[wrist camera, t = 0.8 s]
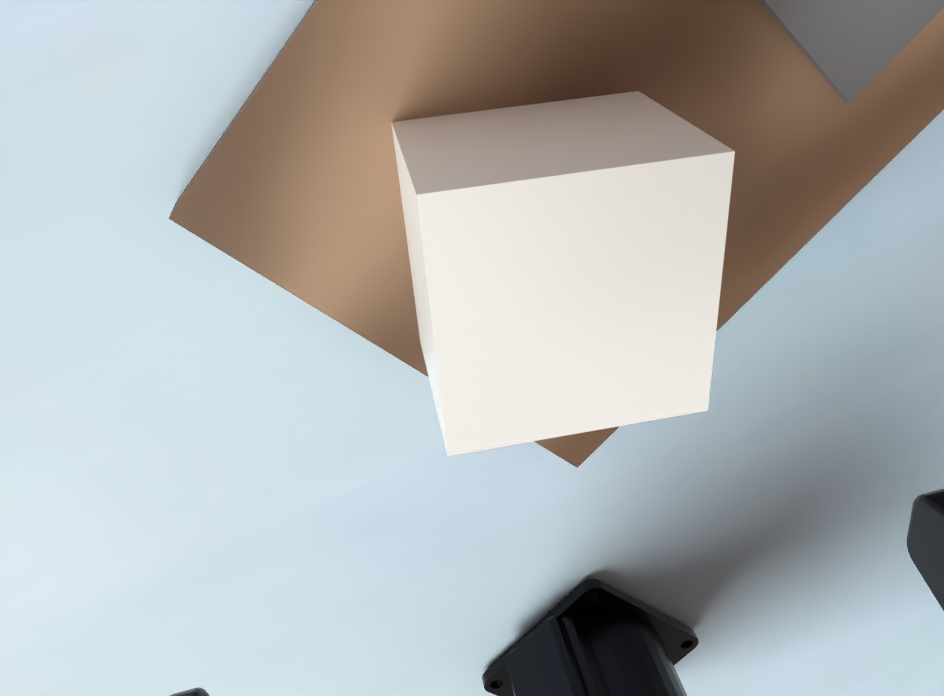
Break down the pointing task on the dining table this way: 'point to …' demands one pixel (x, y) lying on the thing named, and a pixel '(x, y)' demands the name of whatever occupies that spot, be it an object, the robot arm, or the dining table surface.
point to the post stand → (548, 80)
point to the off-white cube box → (563, 265)
